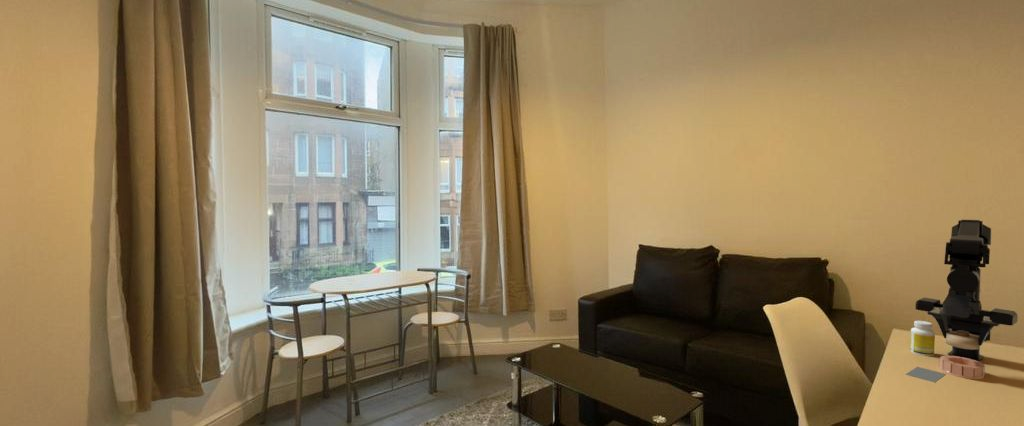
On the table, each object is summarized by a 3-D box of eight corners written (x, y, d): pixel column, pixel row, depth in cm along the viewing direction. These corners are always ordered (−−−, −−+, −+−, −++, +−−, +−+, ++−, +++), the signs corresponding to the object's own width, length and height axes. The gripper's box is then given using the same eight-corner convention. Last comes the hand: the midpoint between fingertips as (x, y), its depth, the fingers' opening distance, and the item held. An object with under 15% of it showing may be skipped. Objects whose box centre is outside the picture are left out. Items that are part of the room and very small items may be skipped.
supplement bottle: (938, 357, 132) (939, 325, 132) (917, 356, 133) (918, 324, 133) (925, 351, 138) (926, 320, 137) (905, 350, 139) (906, 319, 138)
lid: (950, 339, 125) (950, 326, 125) (982, 346, 119) (983, 332, 119) (942, 344, 121) (943, 330, 121) (975, 351, 116) (976, 337, 116)
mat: (917, 368, 125) (917, 366, 125) (946, 375, 120) (946, 373, 120) (905, 375, 121) (905, 374, 121) (934, 383, 115) (934, 382, 115)
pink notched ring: (945, 365, 127) (946, 353, 126) (988, 375, 119) (988, 362, 119) (935, 372, 122) (936, 359, 122) (978, 383, 115) (979, 370, 115)
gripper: (908, 283, 123) (907, 338, 124) (1008, 296, 107) (1005, 359, 108) (923, 278, 129) (921, 330, 130) (1019, 289, 113) (1016, 349, 114)
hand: (962, 341), depth 120 cm, fingers closed on lid, 6 cm apart
